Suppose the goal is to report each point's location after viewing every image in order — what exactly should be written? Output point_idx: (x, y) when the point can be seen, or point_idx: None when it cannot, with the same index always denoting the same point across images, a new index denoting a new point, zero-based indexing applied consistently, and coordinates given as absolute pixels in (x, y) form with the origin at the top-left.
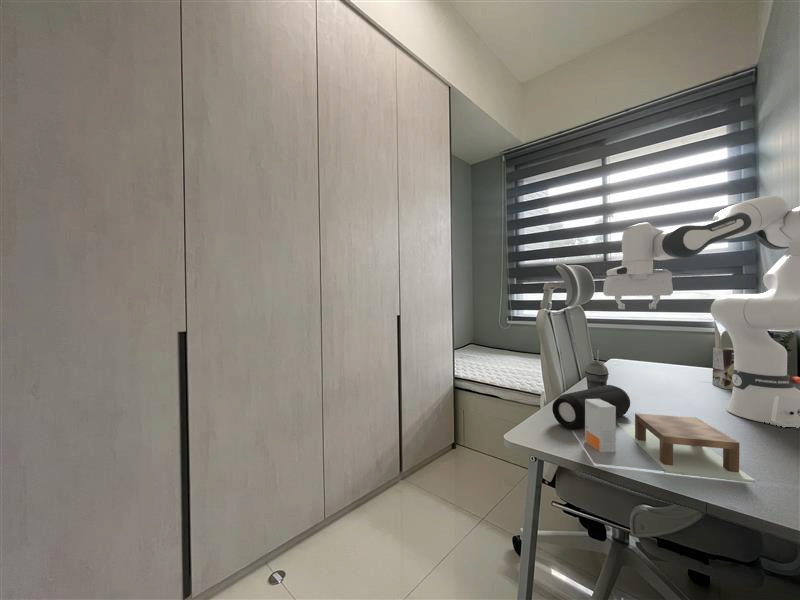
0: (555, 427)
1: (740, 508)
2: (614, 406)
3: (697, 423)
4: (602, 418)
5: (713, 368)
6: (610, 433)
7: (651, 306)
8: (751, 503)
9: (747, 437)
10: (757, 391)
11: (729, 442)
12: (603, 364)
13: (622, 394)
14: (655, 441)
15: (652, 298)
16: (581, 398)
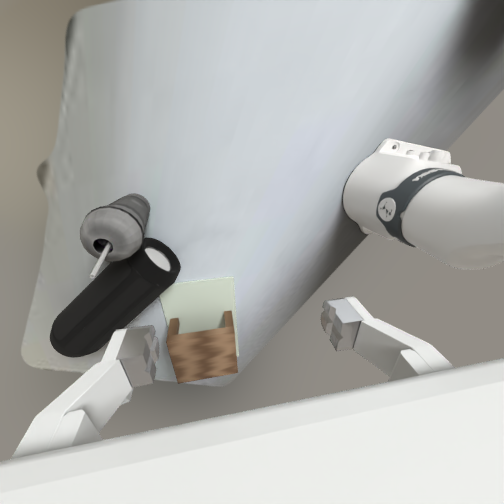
0: None
1: (209, 382)
2: (128, 401)
3: (226, 346)
4: None
5: None
6: None
7: (330, 331)
8: (219, 376)
9: (297, 274)
10: (383, 229)
11: (230, 373)
12: (123, 250)
13: (163, 289)
14: (189, 321)
15: (401, 352)
16: (90, 347)
